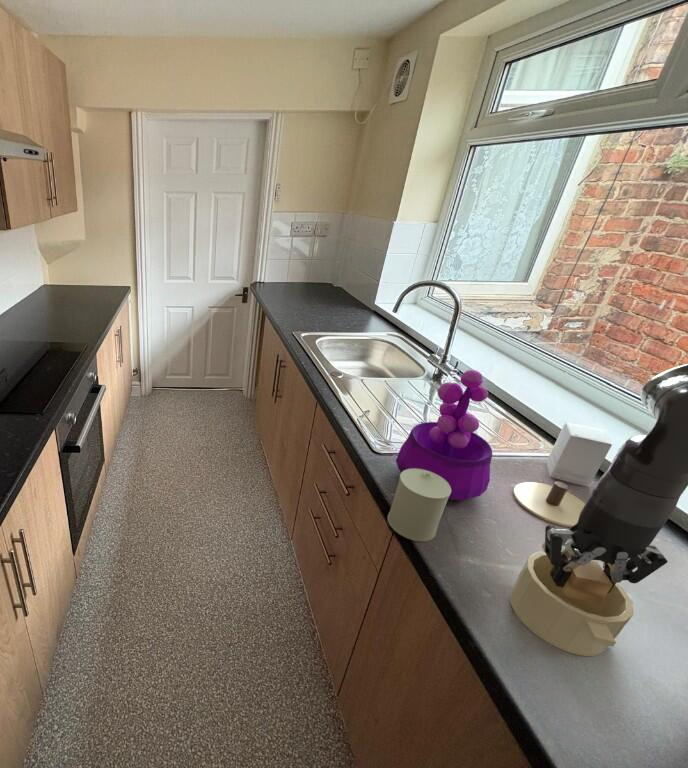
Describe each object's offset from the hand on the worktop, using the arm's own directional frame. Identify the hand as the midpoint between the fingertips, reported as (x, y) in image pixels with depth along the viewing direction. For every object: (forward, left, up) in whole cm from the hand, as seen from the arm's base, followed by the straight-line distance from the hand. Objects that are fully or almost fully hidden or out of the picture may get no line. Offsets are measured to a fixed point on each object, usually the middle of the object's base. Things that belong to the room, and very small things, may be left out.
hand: (576, 586), depth 66 cm
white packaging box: (-18, -45, -8) cm, 49 cm away
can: (+20, -15, -8) cm, 26 cm away
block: (0, 0, 0) cm, 0 cm away
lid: (-10, -31, -7) cm, 33 cm away
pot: (0, 0, -8) cm, 8 cm away
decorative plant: (+13, -32, -8) cm, 35 cm away
